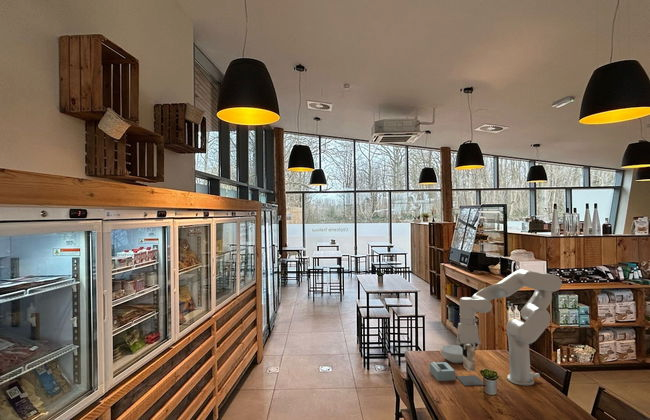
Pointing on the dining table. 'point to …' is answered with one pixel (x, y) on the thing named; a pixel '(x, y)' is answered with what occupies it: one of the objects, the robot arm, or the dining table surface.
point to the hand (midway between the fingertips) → (468, 355)
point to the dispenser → (442, 371)
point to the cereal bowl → (452, 353)
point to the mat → (470, 380)
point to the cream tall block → (469, 358)
